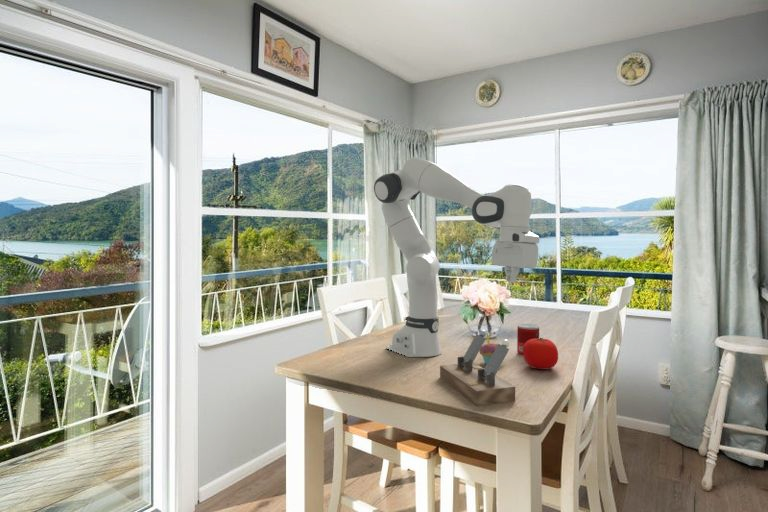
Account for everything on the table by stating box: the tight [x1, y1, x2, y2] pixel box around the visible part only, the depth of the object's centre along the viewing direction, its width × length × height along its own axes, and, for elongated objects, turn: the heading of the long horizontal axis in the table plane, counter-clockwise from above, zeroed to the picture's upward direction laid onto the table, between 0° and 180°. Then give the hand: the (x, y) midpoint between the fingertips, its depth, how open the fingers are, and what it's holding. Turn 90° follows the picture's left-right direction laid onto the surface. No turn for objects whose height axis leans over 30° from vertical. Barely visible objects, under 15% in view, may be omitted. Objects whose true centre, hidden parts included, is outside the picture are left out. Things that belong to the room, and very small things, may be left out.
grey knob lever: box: [461, 329, 487, 363], centre depth 139 cm, size 2×4×12 cm
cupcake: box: [478, 330, 498, 365], centre depth 157 cm, size 9×8×12 cm
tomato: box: [522, 337, 559, 370], centre depth 152 cm, size 11×12×10 cm
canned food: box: [516, 323, 540, 357], centre depth 170 cm, size 8×8×11 cm
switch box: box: [439, 355, 516, 407], centre depth 132 cm, size 12×24×7 cm, turn 17°
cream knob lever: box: [482, 339, 510, 376], centre depth 127 cm, size 2×4×12 cm
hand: (510, 281), depth 136 cm, fingers closed
